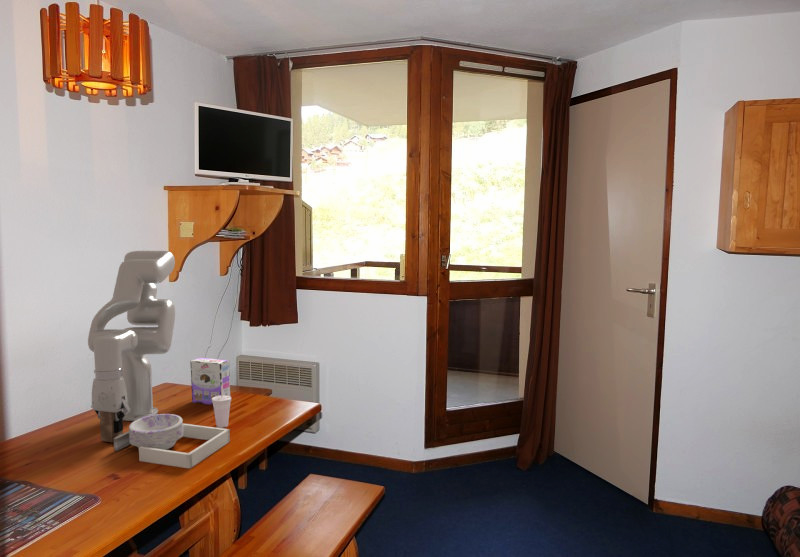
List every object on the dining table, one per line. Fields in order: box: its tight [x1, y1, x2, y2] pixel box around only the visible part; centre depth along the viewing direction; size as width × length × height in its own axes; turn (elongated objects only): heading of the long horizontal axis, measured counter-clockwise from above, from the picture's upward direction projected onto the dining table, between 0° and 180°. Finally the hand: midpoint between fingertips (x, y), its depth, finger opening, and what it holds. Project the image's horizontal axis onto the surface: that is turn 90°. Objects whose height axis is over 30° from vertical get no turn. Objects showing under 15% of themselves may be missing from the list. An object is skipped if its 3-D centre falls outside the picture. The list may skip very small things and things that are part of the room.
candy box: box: [189, 357, 231, 406], centre depth 214 cm, size 14×6×16 cm, turn 71°
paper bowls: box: [128, 413, 184, 450], centre depth 173 cm, size 15×15×8 cm
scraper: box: [99, 411, 131, 452], centre depth 176 cm, size 11×14×10 cm
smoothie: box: [212, 385, 232, 429], centre depth 190 cm, size 6×6×14 cm
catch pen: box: [138, 423, 231, 470], centre depth 170 cm, size 17×20×4 cm
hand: (111, 430), depth 178 cm, fingers closed on scraper, 4 cm apart
